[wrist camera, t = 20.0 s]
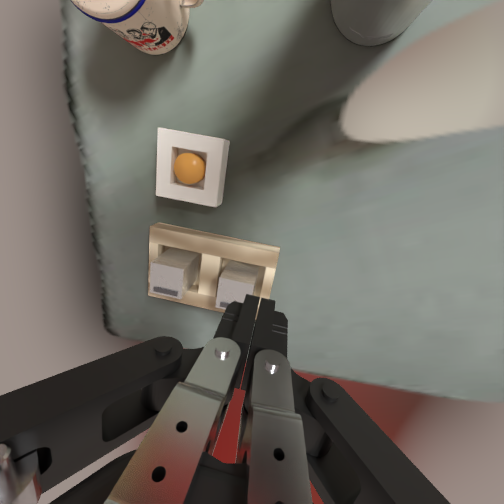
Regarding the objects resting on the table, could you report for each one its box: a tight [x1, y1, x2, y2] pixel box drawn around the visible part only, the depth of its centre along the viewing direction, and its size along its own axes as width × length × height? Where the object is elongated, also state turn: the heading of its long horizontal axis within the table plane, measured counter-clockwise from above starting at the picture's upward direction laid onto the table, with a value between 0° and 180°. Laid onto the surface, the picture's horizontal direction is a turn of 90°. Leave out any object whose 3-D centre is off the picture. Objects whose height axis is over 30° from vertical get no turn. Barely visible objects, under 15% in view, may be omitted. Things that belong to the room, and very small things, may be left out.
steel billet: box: [150, 247, 200, 299], centre depth 36 cm, size 4×4×6 cm
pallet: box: [148, 222, 280, 320], centre depth 37 cm, size 11×18×2 cm, turn 80°
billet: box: [215, 260, 259, 310], centre depth 35 cm, size 4×4×6 cm
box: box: [156, 127, 230, 207], centre depth 32 cm, size 8×8×3 cm
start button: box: [174, 153, 206, 184], centre depth 32 cm, size 4×4×2 cm
